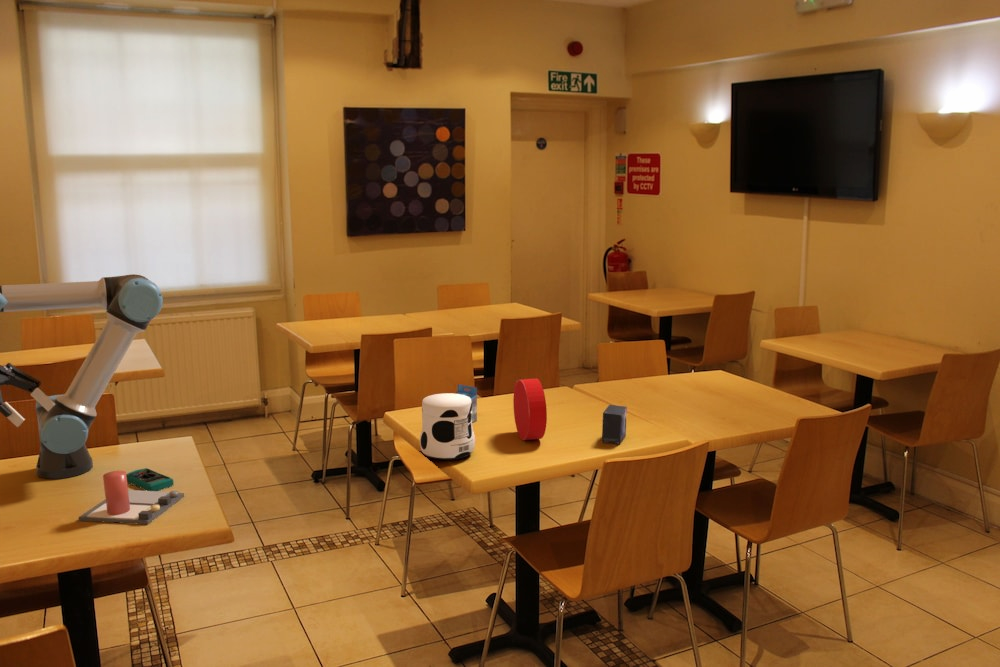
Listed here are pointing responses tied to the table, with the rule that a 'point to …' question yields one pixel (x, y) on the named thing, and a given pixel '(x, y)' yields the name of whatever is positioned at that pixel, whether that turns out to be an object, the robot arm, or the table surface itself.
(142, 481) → the digital multimeter
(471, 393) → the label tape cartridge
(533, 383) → the upright red puck
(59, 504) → the table surface
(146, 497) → the board
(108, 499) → the pink domed cylinder
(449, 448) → the milk container
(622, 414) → the small box
